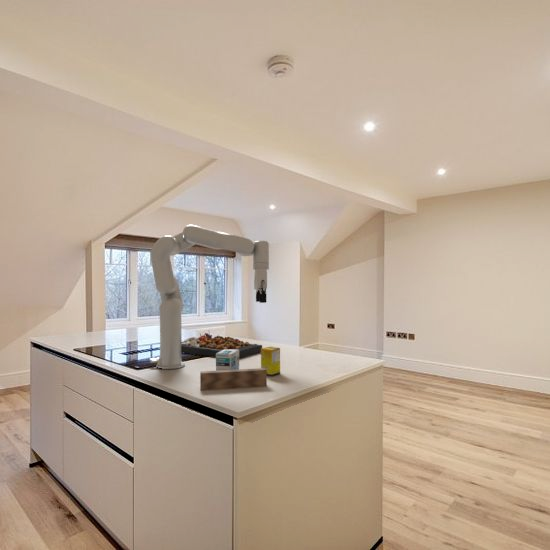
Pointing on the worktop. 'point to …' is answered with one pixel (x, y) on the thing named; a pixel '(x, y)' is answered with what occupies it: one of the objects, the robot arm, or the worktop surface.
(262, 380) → the walnut board
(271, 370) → the supplement box
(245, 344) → the food platter
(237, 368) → the light bulb box
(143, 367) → the worktop surface
